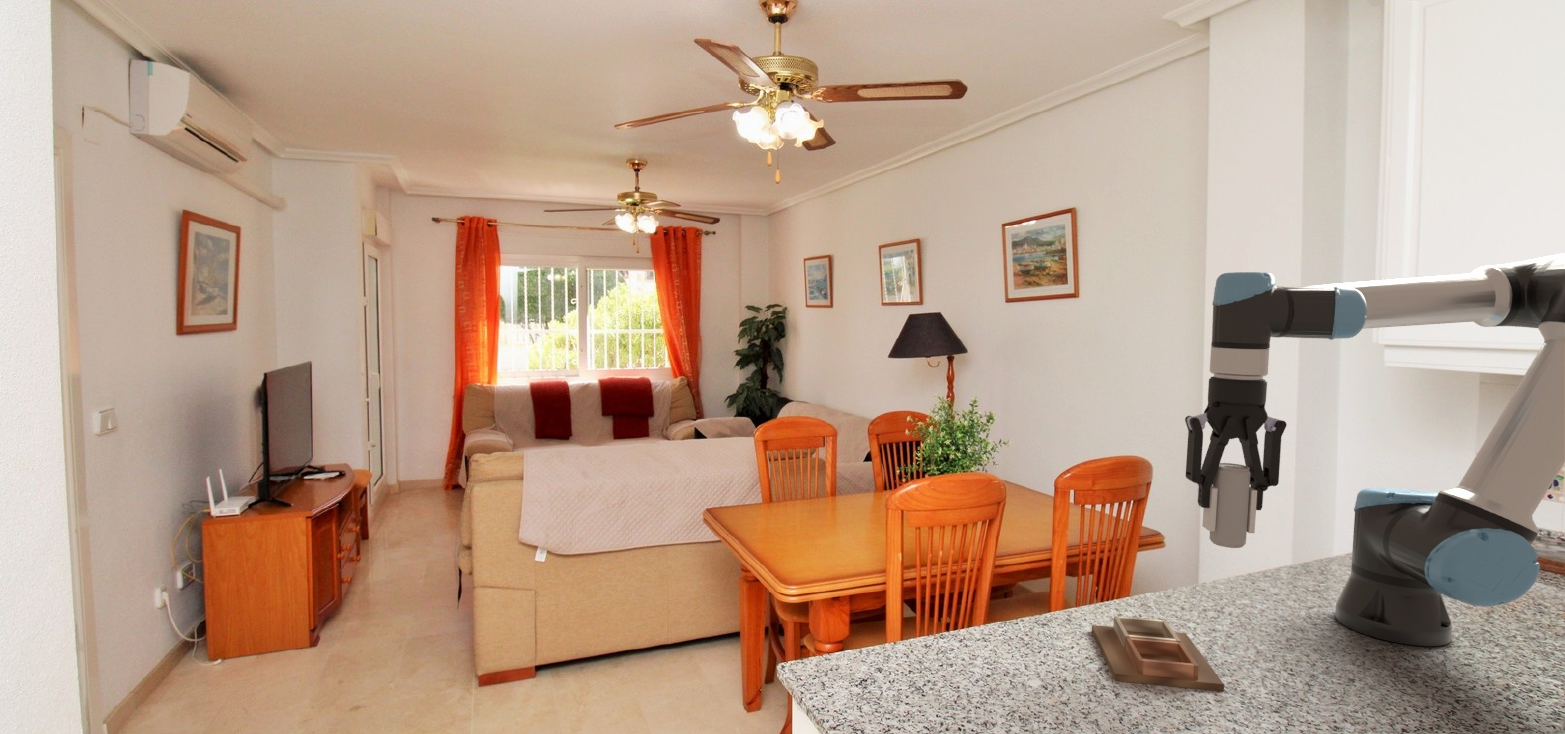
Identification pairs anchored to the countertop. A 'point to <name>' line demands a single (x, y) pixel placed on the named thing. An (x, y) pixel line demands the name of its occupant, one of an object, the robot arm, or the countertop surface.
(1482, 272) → the robot arm
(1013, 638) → the countertop surface
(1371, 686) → the countertop surface
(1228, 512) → the beverage can
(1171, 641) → the socket board
